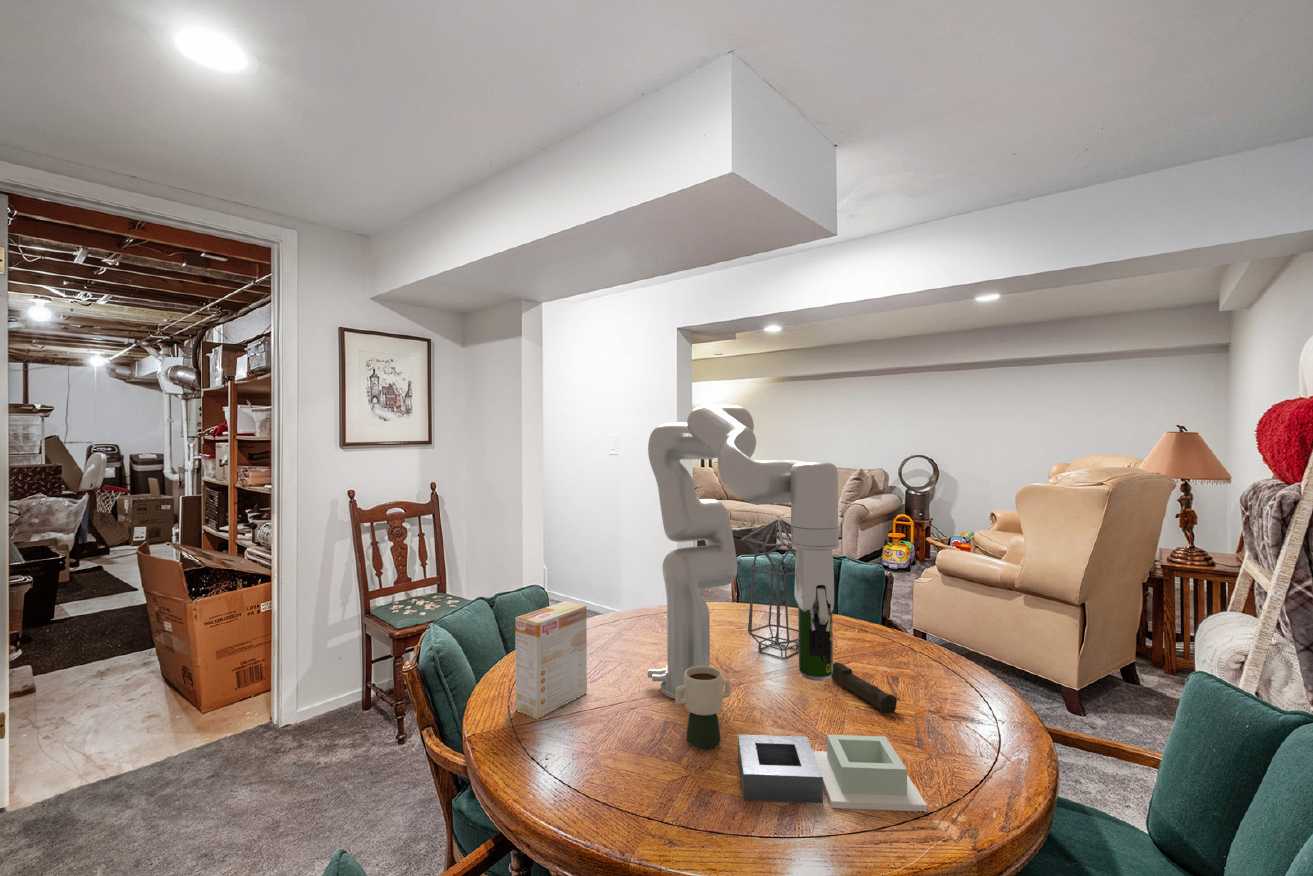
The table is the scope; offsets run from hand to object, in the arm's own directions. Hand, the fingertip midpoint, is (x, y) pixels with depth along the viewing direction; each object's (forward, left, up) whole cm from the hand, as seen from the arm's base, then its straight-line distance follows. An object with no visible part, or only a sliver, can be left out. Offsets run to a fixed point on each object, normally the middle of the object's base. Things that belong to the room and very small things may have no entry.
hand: (815, 647), depth 92 cm
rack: (+8, 0, -22) cm, 23 cm away
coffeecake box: (-50, +25, -22) cm, 60 cm away
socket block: (-6, 0, -22) cm, 23 cm away
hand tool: (+15, +33, -22) cm, 42 cm away
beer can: (0, 0, -5) cm, 5 cm away
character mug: (-18, +10, -22) cm, 30 cm away
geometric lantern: (+3, +59, -22) cm, 63 cm away
